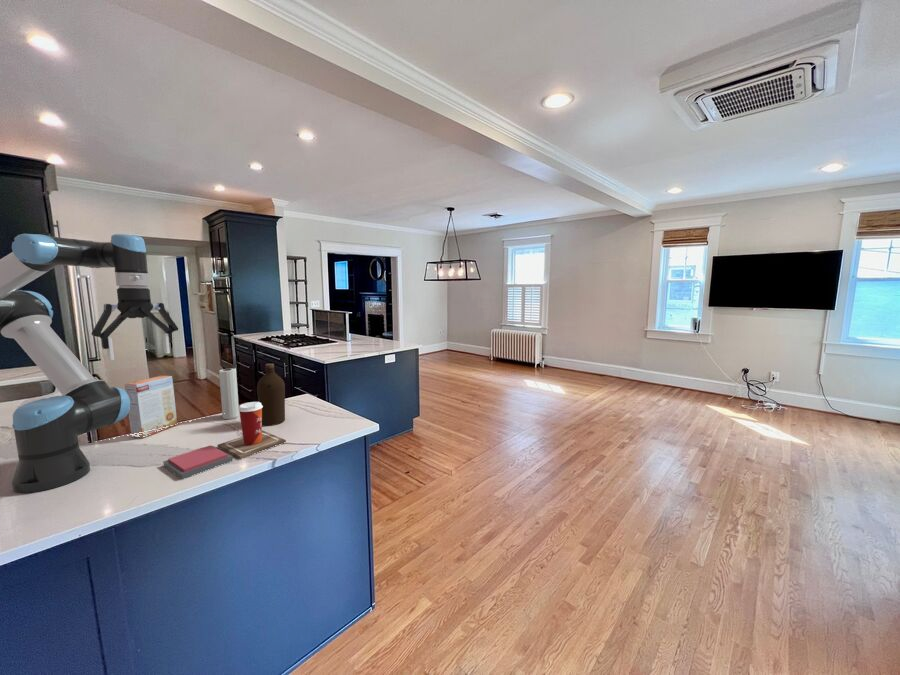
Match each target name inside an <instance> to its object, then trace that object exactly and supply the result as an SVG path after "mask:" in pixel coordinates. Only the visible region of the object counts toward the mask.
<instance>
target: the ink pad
mask: <svg viewBox="0 0 900 675" xmlns="http://www.w3.org/2000/svg"><path fill="white" fill-rule="evenodd" d="M233 458H234V457H233V455H231V454H229V453H227V452H226V451H224V450H222V449H220V448H218V447H215V446H213V445H207V446H204V447H201V448H197V449H195V450H191V451H188V452H185V453H182V454H178V455H176V456H172V457H168V458H167V460H164V461H163V462H162V463H163V467H164V466H165V467H164V468H165V469H167V468H168V469H169V470H168V469H167V470H168V471H170V470H171V471H172V472H171V471H170V472H171V473H173V474H174V473H175V474H176V475H175V474H174V475H175V476H176V477H178V476H179V477H178V478H180V480H184V478H185V479H188V478H190V477H193V476H195V475H194V474H196V475H198V474H197V473H199V474H201V473H204V472H206V471H205V470H207V471H209V470H211V469H210V468H212V469H214V468H213V467H215V466H218V465H220V466H222V465H221V464H223V465H225V464H224V463H226V464H228V463H231V462H233V461H232V460H233ZM230 461H231V462H230ZM227 462H228V463H227ZM218 467H219V466H218ZM215 468H216V467H215ZM208 469H209V470H208ZM203 471H204V472H203ZM200 472H201V473H200ZM192 475H193V476H192ZM187 477H188V478H187Z"/></svg>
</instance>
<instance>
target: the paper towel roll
mask: <svg viewBox="0 0 900 675" xmlns="http://www.w3.org/2000/svg"><path fill="white" fill-rule="evenodd" d="M218 373H219V374H218V375H219V385H220V386H219V387H220V399H221V413H222V419H224V420H233V419H235V418H238V417H240V412H239V411H238V409H239V406H240V404H239V393H238V392H239V390H238V381H237V380H238V377H237V368H236V367H234V368H224V369H223V368H222V369H220V370H219V371H218ZM224 413H225V414H224Z"/></svg>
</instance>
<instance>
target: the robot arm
mask: <svg viewBox="0 0 900 675" xmlns="http://www.w3.org/2000/svg"><path fill="white" fill-rule="evenodd" d="M13 240H14V241H12V244H11V250H12V252H10V253H8V254H7V255H6V256H5V255H4V256H3V257H2V258H0V335H1V336H2V337H4V338H8V339H14V341H16V343H17V344H18V345H19V346H20V347H21V349H22V350H23V351H24V353H26V354H27V356H28V357H29V358H30V359H31V361H33V363H34V364H35V365H36V366H37V367H38V368H39V370H40V371H41V372H42V373H43V374H44V375H45V377H47V379H48V380H49V381H50V382H51V384H52V385H53V386H54V387H55V388H56V389H57V391H58V392H59V393H60V394H61V395H56V396H50V397H47V398H40V399H36V400H34V401H30V402H28V403H25V404H23V405H20V406H19V407H17V408H16V409H15V411H14V412H13V414H12V424H11V425H12V428H13V431H14V437H15V443H16V448H17V449H16V450H17V455H18V456H17V457H18V463H17V465H16V470H15V472H14V475H13V479H12V482H11V483H12V484H11V485H12V489H13V491H14V492H15V493H20V494H28V493H36V492H42V491H47V490H50V489H55V488H58V487H62V486H64V485H68V484H71V483H72V482H75V481H78V480H79V479H82V478H83V477H85V476H86V475H88V474H89V473H90V471H91V465H90V461H89V460H88V458H87V457H86V455H85V454H84V452H83V451H82V450H81V448H80V444H79V437H78V436H82V435H83V434H87V433H90V432H93V431H96V430H99V429H101V428H105V427H107V426H108V427H109V426H112V425H114V424H115V423H118V422H120V421H122V420H123V419H125V418H126V417H127V416H128V415H129V414H128V412H129V410H130V399H129V396H128V394H127V393H126V391H125V389H124V388H121V387H117V386H113V387H110V386H109V385H108V383H107V382H106V381H105V380H103V379H96V378H95V377H94V376H93V375H92V374H91V372H90V371H89V370H88V369H87V367H85V366H84V365H83V363H82V362H81V361H80V360H79V358H77V356H76V355H75V354H74V353H73V351H72V350H71V349H70V348H69V347H68V345H67V344H66V343H65V342H64V341H63V340H62V339H61V338H60V336H59V335H58V334H57V333H56V332H55V330H54V329H53V328H52V327H51V324H52V323H53V320H52V319H53V316H54V311H53V310H52V309H53V306H52V305H51V302H50V301H49V300H48V299H47V298H46V297H45V296H44V295H43V294H40V293H39V292H35V291H31V290H22V288H23V287H24V286H26V285H27V284H28V285H29V283H31V282H33V281H35V280H36V279H38V278H40V277H41V276H43V275H44V274H46V273H48V272H49V271H50V270H53V269H54V268H56V267H58V266H71V267H85V268H91V269H93V268H94V269H101V268H102V269H103V268H105V269H106V268H107V269H108V268H114V275H115V276H114V277H115V285H116V286H117V287H118V288H116V293H117V304H111V303H104V304H103V312H102V314H101V315H100V317H99V319H98V321H97V322H96V325H95V326H94V328H93V330H92V332H91V336H93V337H97V338H100V340H101V348H102V350H103V349H104V350H106V351H107V352H106V353H107V360H110V361H115V353H114V343H113V337H109V336H110V335H112V333H113V332H114V331H116V329H117V328H119V326H120V325H121V324H122V323H123V322H124V321H125V320H126V319H137V318H138V319H140V318H141V319H144V318H147V319H149V320H150V321H151V322H152V323H153V324H155V325H156V326H157V327H158V328H160V329H161V330H162V331H163V333H161V336H162V344H163V345H162V346H163V353H164V354H168V355H169V354H171V349H170V344H171V343H173V333H174V332H177V331H179V327H178V326H177V324H176V323H175V322H174V320H173V319H172V317H171V316H170V314H169V313H168V312H167V310H166V308H165V304H164V303H162V302H157V303H152V301H151V291H150V290H151V289H149V288H148V287H150V280H149V279H150V278H149V270H148V258H147V249H146V244H145V243H146V242H145V240H144V238H143V237H142V236H138V235H134V234H124V233H122V234H121V233H116V234H112V235H111V236H110V241H109V242H103V241H101V242H100V241H91V240H83V239H77V238H75V239H74V238H66V237H59V236H51V235H45V234H40V233H38V234H36V233H35V234H33V233H22V234H17V236H15V237H14V239H13ZM153 309H154V310H156V311H158V313H159V315H160V316H161V317H162V318H163V320H164V321H165V323H166V324H167V325H166V324H165V323H164V322H163V321H161V320H160V319H159V318H157V316H155V315H154V314H153V313H152V312H151V311H152V310H153ZM115 310H118V311H119V312H120V313H119V314H118V315H117V316H116V318H115V319H114V320H113V321H112V322H111V323H110V324H109V325H108V326H107V327H106V328H105V329H104V327H105V326H106V323H107V322H108V320H109V318H110V316H111V314H112V312H115ZM103 329H104V330H103Z"/></svg>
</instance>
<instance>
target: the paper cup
mask: <svg viewBox="0 0 900 675" xmlns="http://www.w3.org/2000/svg"><path fill="white" fill-rule="evenodd" d="M262 407H263V406H262V405H261V403H260V402H258V401H250V402H244V403H241V404H239V409H238V411H239V417H240V418H239V420H240V425H241V431H242V432H241V433H242V437H243V440H244V444H245V445H255V444H258V443H260V442H261V441H262V430H263V425H262Z"/></svg>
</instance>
